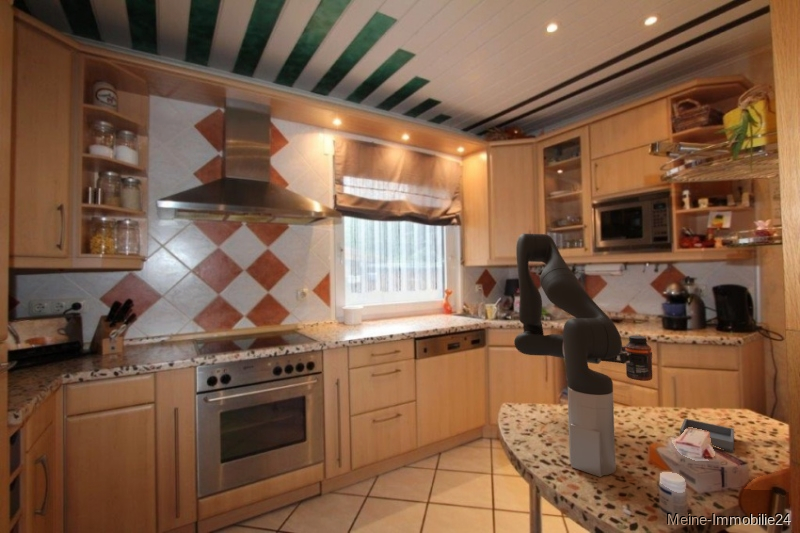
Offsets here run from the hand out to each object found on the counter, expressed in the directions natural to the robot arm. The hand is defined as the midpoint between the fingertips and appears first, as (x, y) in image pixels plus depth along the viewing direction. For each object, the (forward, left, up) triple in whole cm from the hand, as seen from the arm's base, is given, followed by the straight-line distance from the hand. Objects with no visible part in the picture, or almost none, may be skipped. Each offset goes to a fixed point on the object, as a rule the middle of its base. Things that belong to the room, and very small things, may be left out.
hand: (649, 357), depth 95 cm
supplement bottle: (0, +3, -6) cm, 7 cm away
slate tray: (+7, -11, -21) cm, 24 cm away
